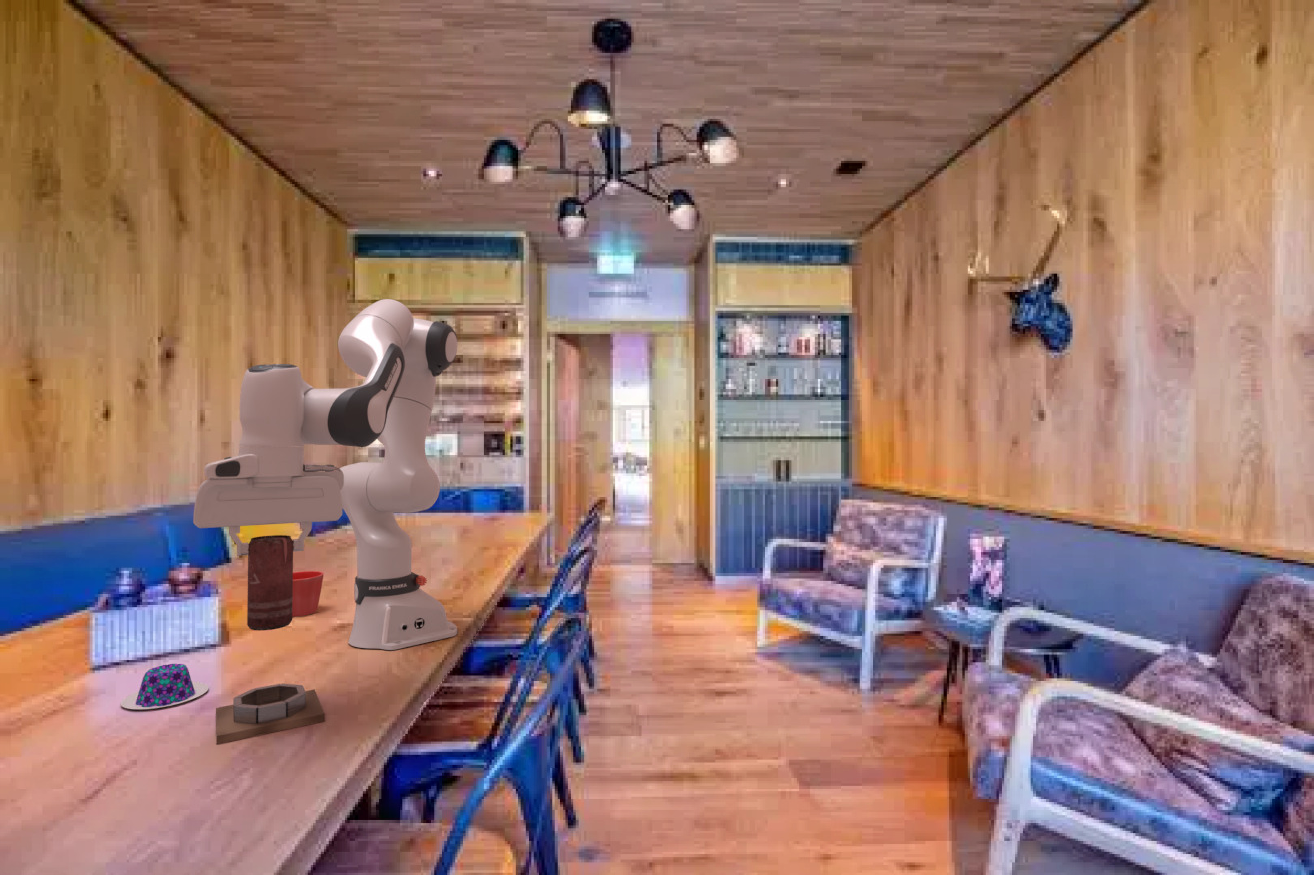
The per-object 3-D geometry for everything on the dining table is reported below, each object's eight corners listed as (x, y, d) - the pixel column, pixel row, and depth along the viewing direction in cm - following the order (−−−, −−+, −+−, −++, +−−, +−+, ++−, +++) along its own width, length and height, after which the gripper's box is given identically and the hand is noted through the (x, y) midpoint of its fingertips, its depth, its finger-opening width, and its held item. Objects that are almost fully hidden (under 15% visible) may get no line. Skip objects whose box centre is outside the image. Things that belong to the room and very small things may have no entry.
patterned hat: (115, 720, 103) (115, 686, 103) (125, 695, 113) (125, 664, 113) (208, 703, 110) (208, 672, 110) (209, 681, 120) (209, 652, 120)
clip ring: (300, 694, 110) (300, 680, 110) (307, 714, 102) (307, 698, 102) (232, 707, 104) (232, 692, 104) (234, 729, 96) (234, 712, 96)
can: (273, 632, 100) (274, 540, 100) (237, 629, 101) (238, 538, 101) (302, 621, 105) (303, 534, 106) (268, 619, 107) (269, 533, 107)
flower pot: (264, 617, 161) (265, 578, 161) (296, 606, 172) (296, 569, 172) (303, 620, 160) (303, 580, 160) (332, 608, 170) (332, 571, 170)
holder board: (314, 696, 112) (314, 689, 112) (324, 721, 102) (324, 713, 102) (215, 715, 104) (215, 707, 104) (216, 744, 94) (216, 736, 94)
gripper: (340, 463, 112) (339, 544, 112) (194, 465, 100) (193, 555, 100) (347, 464, 107) (346, 549, 107) (193, 466, 95) (192, 562, 95)
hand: (270, 552), depth 103 cm, fingers closed on can, 6 cm apart
